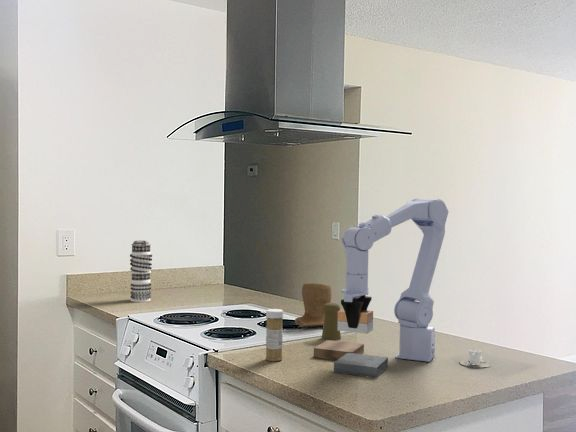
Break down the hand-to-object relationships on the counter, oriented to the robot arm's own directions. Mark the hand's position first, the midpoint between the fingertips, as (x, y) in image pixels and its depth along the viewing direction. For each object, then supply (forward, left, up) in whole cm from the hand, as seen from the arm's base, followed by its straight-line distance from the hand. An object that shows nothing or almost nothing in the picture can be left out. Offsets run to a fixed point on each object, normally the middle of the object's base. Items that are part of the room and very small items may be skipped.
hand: (356, 325), depth 162 cm
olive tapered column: (+16, -28, -11) cm, 34 cm away
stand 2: (-3, +3, -10) cm, 11 cm away
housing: (0, 0, -1) cm, 1 cm away
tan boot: (+28, -44, -11) cm, 54 cm away
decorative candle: (+112, -60, -11) cm, 128 cm away
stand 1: (+7, -9, -10) cm, 16 cm away
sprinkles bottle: (+21, +4, -11) cm, 24 cm away
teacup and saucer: (-31, -17, -11) cm, 37 cm away
